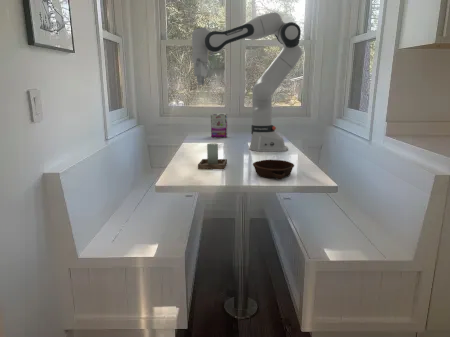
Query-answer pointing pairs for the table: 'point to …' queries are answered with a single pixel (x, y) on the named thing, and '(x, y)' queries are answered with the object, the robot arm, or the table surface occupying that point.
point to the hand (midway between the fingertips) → (201, 84)
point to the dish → (273, 168)
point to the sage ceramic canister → (212, 153)
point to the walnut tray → (205, 165)
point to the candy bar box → (218, 125)
